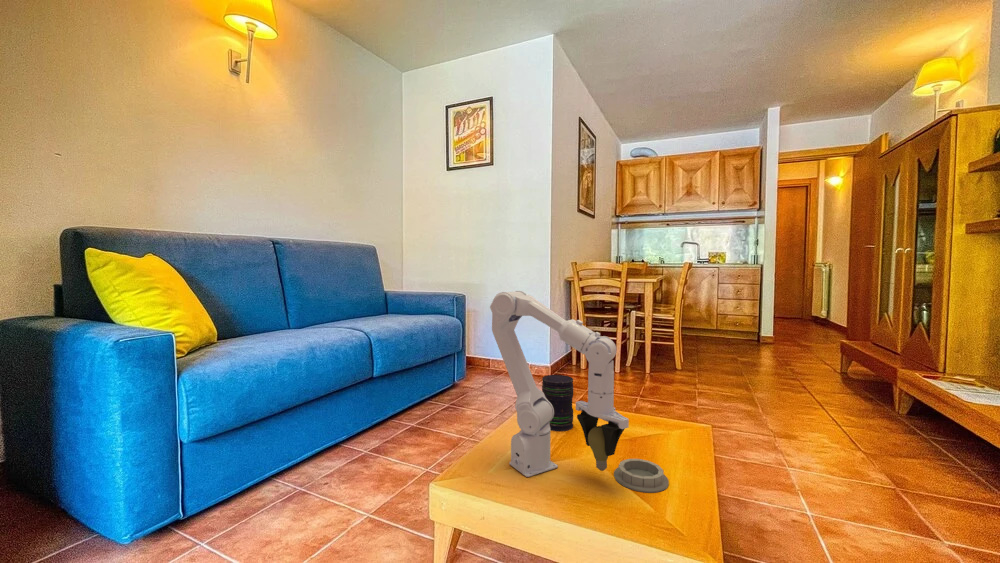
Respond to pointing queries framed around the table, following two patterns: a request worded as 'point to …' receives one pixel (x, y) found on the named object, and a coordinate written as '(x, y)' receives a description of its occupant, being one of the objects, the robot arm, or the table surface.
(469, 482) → the table surface
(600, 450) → the light bulb
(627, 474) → the bulb holder
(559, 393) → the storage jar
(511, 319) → the robot arm
